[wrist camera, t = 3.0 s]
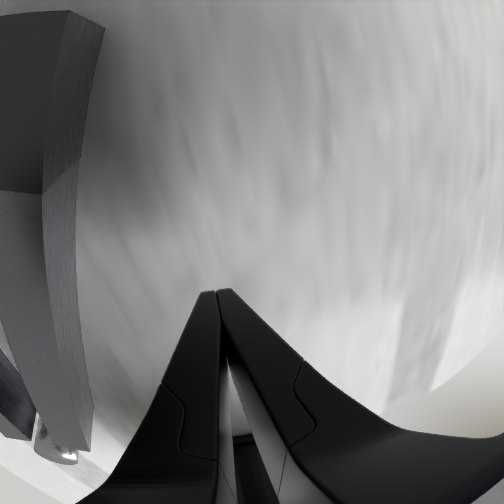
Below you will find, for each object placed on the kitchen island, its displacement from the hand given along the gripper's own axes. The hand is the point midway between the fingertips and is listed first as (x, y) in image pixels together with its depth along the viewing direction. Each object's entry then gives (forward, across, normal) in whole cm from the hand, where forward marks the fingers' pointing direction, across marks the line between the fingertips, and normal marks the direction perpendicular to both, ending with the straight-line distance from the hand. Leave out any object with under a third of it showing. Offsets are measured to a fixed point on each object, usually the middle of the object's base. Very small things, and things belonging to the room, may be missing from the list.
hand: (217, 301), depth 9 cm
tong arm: (+3, +8, +2) cm, 8 cm away
